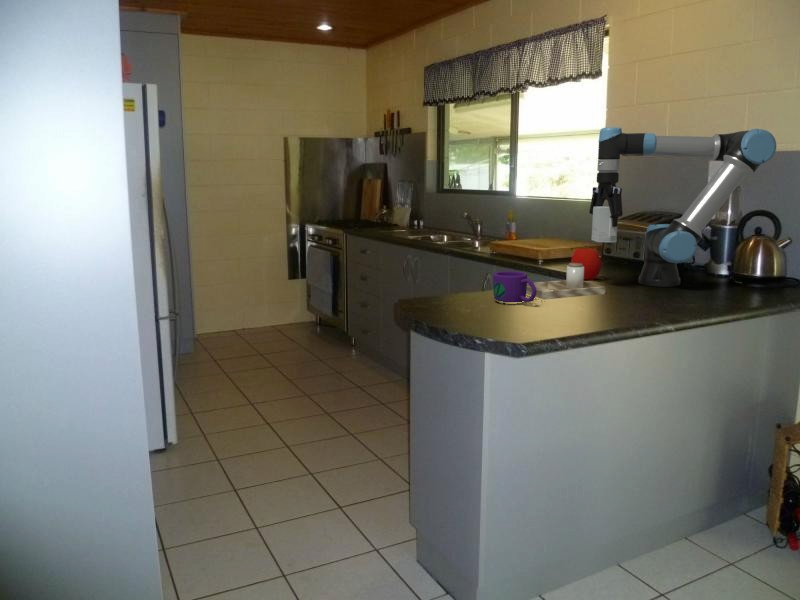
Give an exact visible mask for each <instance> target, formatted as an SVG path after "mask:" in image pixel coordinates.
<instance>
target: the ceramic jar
mask: <svg viewBox="0 0 800 600" xmlns="http://www.w3.org/2000/svg"><path fill="white" fill-rule="evenodd" d="M565 278H566V279H565V280H566V287H569V288H573V289H578V288H583V283H584V282H585V280H584V266H583V264H582V263H571V262H569V263H568V265H566V277H565Z"/></svg>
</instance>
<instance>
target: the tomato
mask: <svg viewBox="0 0 800 600" xmlns="http://www.w3.org/2000/svg"><path fill="white" fill-rule="evenodd" d="M572 254H573V255H572V256H571V261H570V263H582V264H583V266H584V281H589V280H590V281H593V280H595V279H596V278H598V276H599V275H600V272H601V269H602V259H601V256H600V254H599V253H598V252H597V250H595V249H594V248H591V247H590V246H589V247H587V245H584V246H582V247H579V248H576V250H575V251H574V252H573V253H572Z"/></svg>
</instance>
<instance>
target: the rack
mask: <svg viewBox="0 0 800 600" xmlns="http://www.w3.org/2000/svg"><path fill="white" fill-rule="evenodd" d="M533 283H534V285H535V287H536V290H537V292H536V296H535V298H536V299H539V300H542V301H545V300H555V299H564V298H574V297H575V298H576V297H577V298H578V297H579V298H580V297H588V296H589V297H590V296H600V295H605V294H606V286H602V285H599V284H596V283H591V282H588V281H584V283H583V288H578V289H573V288H569V287H566V279H563V280H562V279H561V280H551V281H550V280H549V281H538V282H533ZM551 290H553V291H551ZM526 295H527V296H531V295H532V288H531V286H530V285H529V284H528V283H527V291H526Z"/></svg>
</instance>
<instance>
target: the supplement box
mask: <svg viewBox="0 0 800 600" xmlns="http://www.w3.org/2000/svg"><path fill="white" fill-rule="evenodd" d="M614 214H615V213H614ZM610 216H611V213H610V208H609V205H608V206H605V205H603V206H602V207H593V215H592V221H591V222H592V225H591V226H592V227H591V241H593V242H596V243H617V238H618V229H617V230H616V236H609V220H610ZM618 225H619V224H618ZM618 225H617V228H618Z"/></svg>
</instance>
